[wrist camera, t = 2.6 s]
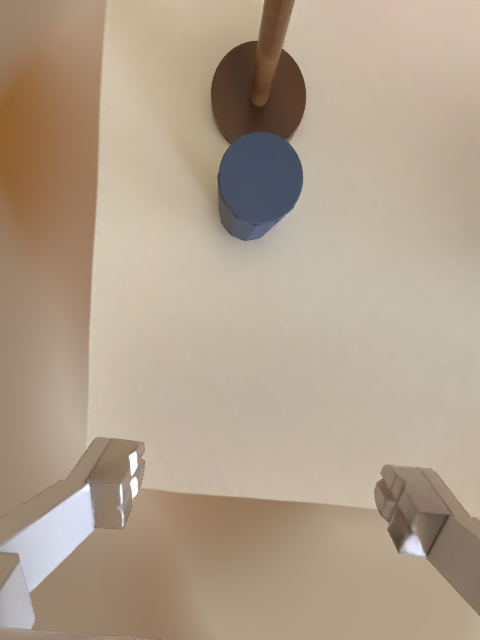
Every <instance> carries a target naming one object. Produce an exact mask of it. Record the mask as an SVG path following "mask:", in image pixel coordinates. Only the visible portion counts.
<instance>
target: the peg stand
mask: <svg viewBox="0 0 480 640" xmlns="http://www.w3.org/2000/svg"><path fill="white" fill-rule="evenodd" d="M294 2H295V0H264V7H263V13H262V19H261V26H260V32H259V39H258V41H250V42H246V43H243V44H241V45H239V46H237V47H235V48H233V49H232V50H231V51H230V52H228V53H227V55H226V56H225V57H224V58H223V59H222V61H221V62H220V63H219V65H218V67H217V69H216V72H215V74H214V77H213V81H212V88H211V101H212V111H213V115H214V119H215V121H216V124H217V126H218V128H219V130H220V131H221V133H222V134H223V136H224V137H225V138H226V139H227V140H228V141H229V142H230V143H231V144H232V143H233V142H234V141H236V140H237V139H238V138H240V137H242V136H244V135H246V134H249V133H253V132H269V133H273V134H275V135H278V136H279V137H281V138H283V139H284V140H286V141H288V140H289V139H290V138H291V137H292V136H293V134H294V133H295V131H296V129H297V127H298V126H299V124H300V121H301V119H302V117H303V113H304V110H305V104H306V89H305V83H304V79H303V76H302V73H301V71H300V69H299V67H298V65H297V64H296V62H295V61H294V59H293V58H292V57H291V56H290V55H289V54H288V53H287V52H286V51H285V50H283V49H282V47H283V43H284V39H285V35H286V32H287V28H288V24H289V20H290V17H291V13H292V9H293V6H294Z"/></svg>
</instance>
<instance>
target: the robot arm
mask: <svg viewBox="0 0 480 640" xmlns="http://www.w3.org/2000/svg"><path fill="white" fill-rule="evenodd" d="M144 451H145V448H144V443H143V442H139V441H131V440H123V439H115V438H113V439H112V438H104V437H97V438H96V439H94V440H93V442H92V443H91V444H90V446H89V447H88V449H87V450H86V451H85V453H84V454H83V456H82V457H81V459H80V460H79V461H78V463H77V464H76V466H75V467H74V469H73V470H72V471H71V473H70V474H69V476H68V477H67V479H66V480H65V481H64V480H60V481H58V482H56V483H55V484H53V485H52V486H50V487H48V488H47V489H45V490H44V491H42V492H41V493H39V494H37V495H36V496H34V497H33V498H31V499H29V500H28V501H26V502H25V503H23V504H22V505H20V506H19V507H17V508H15V509H14V510H12V511H10V512H9V513H7V514H6V515H4V516H2V517H1V518H0V640H162V639H148V638H135V637H123V636H110V635H97V634H83V633H71V632H58V631H44V630H32V629H31V628H32V626H33V624H34V622H35V614H34V610H33V606H32V602H31V599H30V595H29V593H30V592H31V591H32V590H33V589H34V588H35V587H36V586H37V585H38V584H39V583H40V582H41V581H42V580H44V579H45V578H46V576H48V575H49V574H50V573H51V572H52V570H54V569H55V568H56V567H57V566H58V565H59V564H60V563H61V562H62V561H63V560H64V559H65V558H66V557H67V556H68V555H69V554H70V553H71V552H72V551H73V550H74V549H75V548H76V547H77V546H78V545H79V544H80V543H81V542H82V541H83V540H84V539H85V538H86V537H87V536H88V535H89V534H90V533H91V532H93V531H94V528H105V529H124V527H125V524H126V522H127V519H128V517H129V515H130V512H131V509H132V507H133V506H132V505H133V504H132V498H133V497H134V496H135V495H136V494H137V493H138V492H139V489H140V487H141V484H142V480H143V476H144V469H145V461H144V460H143V458H142V456H143V453H144ZM381 475H382V477H383V479H381V480H380V481H378V482H377V483H376V487H375V490H374V494H375V502H376V506H377V508H378V511H379V513H380V515H381V516H382V517H383V518H384V519H386V521H387V522H389V523H388V529H387V530H388V532H389V534H390V536H391V538H392V540H393V542H394V544H395V546H396V549H397V551H398V553H400V554H409V555H417V556H425V557H427V559H428V561H430V563H431V564H432V565H433V566H434V567H435V568H436V569H437V570H438V571H439V572H440V574H442V576H443V577H444V578H445V579H446V580H447V581H448V582H449V583H450V584H451V585H452V586H453V587H454V589H455V590H456V591H457V592H458V593H459V594H460V595H461V596H462V597H463V598H464V599H465V601H466V602H467V603H468V604H469V605H470V606H471V607H472V608H473V609H474V610H475V611H476V612H477V613H478V614H479V616H480V520H478V519H477V518H473V517H471V516H470V515H469V514H468V512H467V511H466V510H465V509H464V507H463V506H462V505H461V504H460V502H459V501H458V500H457V498H456V497H455V496H454V495H453V493H452V492H451V491H450V489H449V488H448V487H447V486H446V484H445V483H444V482H443V481H442V479H441V478H440V477H439V475H438V474H437V473H436V472H435V471H434V470H432V469H431V468H419V467H408V466H396V465H385V466H384V467H383V468H382V470H381Z"/></svg>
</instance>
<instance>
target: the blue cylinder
mask: <svg viewBox="0 0 480 640" xmlns="http://www.w3.org/2000/svg"><path fill="white" fill-rule="evenodd" d="M302 185H303V171H302V166H301V162H300V160H299V157H298V155H297V153H296V152H295V150H294V149H293V147H292V146H291V145H290V144H289V143H288V142H287V141H286V140H284V139H283V138H281V137H279V136H278V135H275V134H273V133H269V132H253V133H249V134H246V135H244V136H242V137H240V138H238V139H237V140H236V141H234V142H233V143H232V144H231V145H230V147H229V148H228V149H227V151H226V152H225V154H224V156H223V158H222V161H221V164H220V168H219V173H218V197H219V211H220V217H221V223H222V224H223V226H224V227H225V228H226V229H227V231H228V232H229V233H230V235H232V236H234V237H237V238H239V239H242V240H244V241H247V240H252V239H258V238H260V237H261V236H263V235H264V234H265V233H266V232H267V231H268V230H270V229H271V228H272V227H273V226H274V225H275V224H276V223H277V222H279V221H280V220H281V219H282V218H283V217H284V216H285V215H286V214H288V213H289V212H290V211H291V210H292V209H293V208H294V205H295V204H296V202H297V200H298V198H299V196H300V193H301V190H302Z"/></svg>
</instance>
